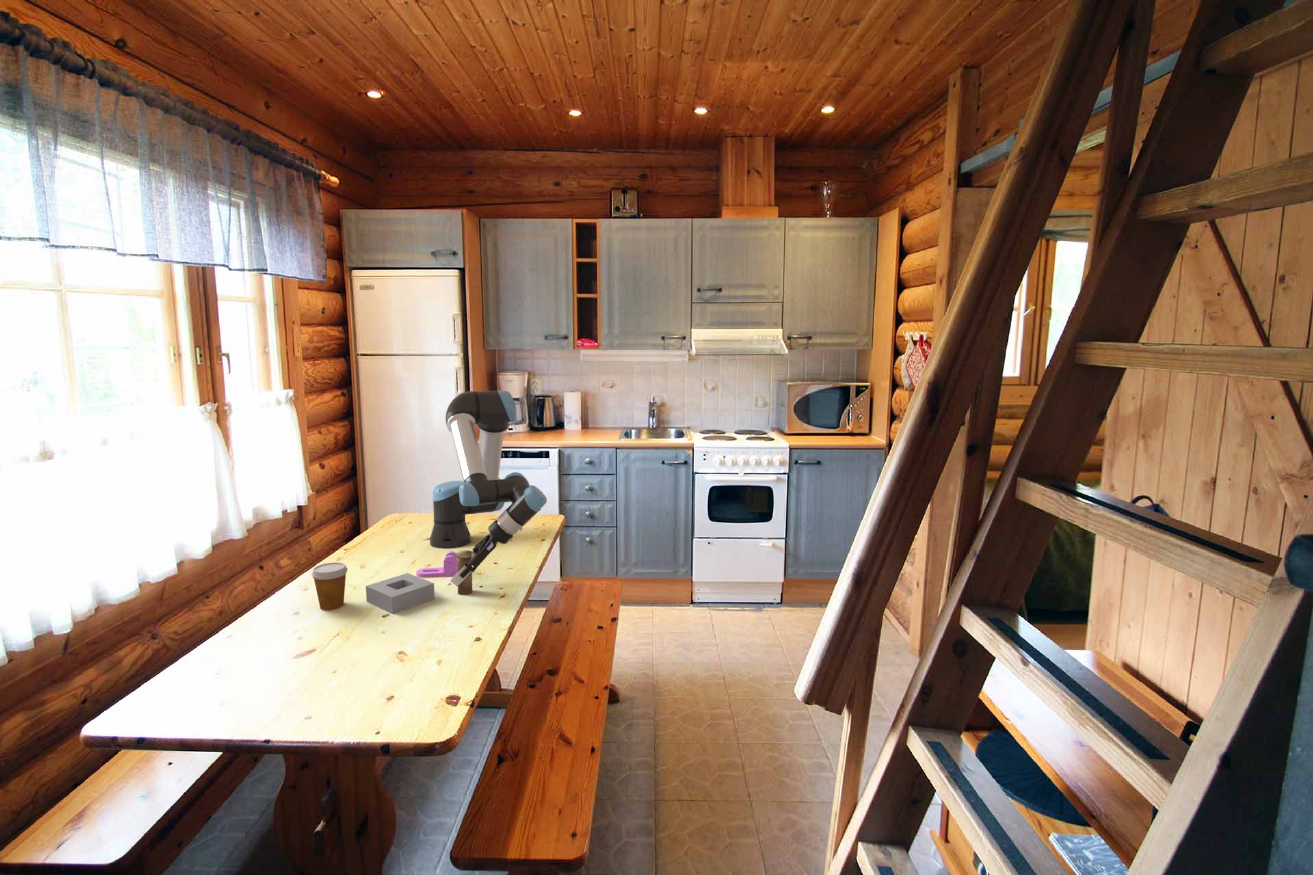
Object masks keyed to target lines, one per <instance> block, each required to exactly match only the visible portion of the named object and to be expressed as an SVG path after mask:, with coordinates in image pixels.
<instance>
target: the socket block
mask: <svg viewBox="0 0 1313 875" xmlns="http://www.w3.org/2000/svg"><path fill="white" fill-rule="evenodd" d="M365 595H366V596H365V598H366V603H368V604H370V605H373V606H375V607H377V608H380V609H381V610H384V611H385V612H388V613H391V614H393V615H394V614H396V613H399V612H401V611H402V612H403V611H404V610H407V609H410V608H414V607H417V606H418V605H421V604H424V603H427V602H430V601H432V600H435V599H436V597H435V595H436V594H435V583H434V582H432V581H429V580H426V579H424V578H422V577H417V576H416V575H414V574H412V573H408V572H406V573H404V574H400V575H396V576H394V577H391V578H388V579H384V580H380V581H378V582H374V583H371V584H368V585H365Z"/></svg>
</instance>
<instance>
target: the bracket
mask: <svg viewBox="0 0 1313 875" xmlns="http://www.w3.org/2000/svg"><path fill="white" fill-rule="evenodd" d="M456 553H457V552H455V551H448V552H447V553H445V554H446V555H445V556H444V558H443V567H424V568H420V569H418V570H416V571H415V572H416V575H415V576H417V577H419V578H422V579H424V578H443V577H445V578H446V577H454V576H455V575H456V574H457V557H456Z"/></svg>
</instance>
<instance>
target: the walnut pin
mask: <svg viewBox="0 0 1313 875" xmlns="http://www.w3.org/2000/svg"><path fill="white" fill-rule="evenodd" d="M471 551H472V550H469V549H468V550H467V549H466V550H465V549H464V550H463V549H462V550H459V551H457V552H455V553H456V557H457V573H458V572H459V571H460V570H461V569H462V568H463V567H464V566H465V565H464V564H465V563H467V564H468V563H469V562H470V561H471V556H472V552H471ZM471 566H472V565H471ZM472 567H473V566H472ZM472 593H473V572H471V573H470V574H469V575H468V576H467V577H466V578H465V579H464V580H463V581H462V582H461V583H460V584H459V585H458V586H457V595H460V596H467V595H471V594H472Z"/></svg>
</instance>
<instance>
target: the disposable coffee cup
mask: <svg viewBox="0 0 1313 875" xmlns="http://www.w3.org/2000/svg"><path fill="white" fill-rule="evenodd" d="M347 573H348V567H347V565H346V564H345V563H343V562H336V561H335V562H326V563H322V564H321V563H320V564H319V565H316V566H314V567H313V568H312V572H311V576H312V578H313V579H314V580H313V581H314V586H315V591H316V595H317V600H318V604H319V609H320V610H323V611H334V610H336V609H340V608H343V606H344V602H345V590H346V580H347V579H346V578H347V577H346V576H347Z"/></svg>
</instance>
